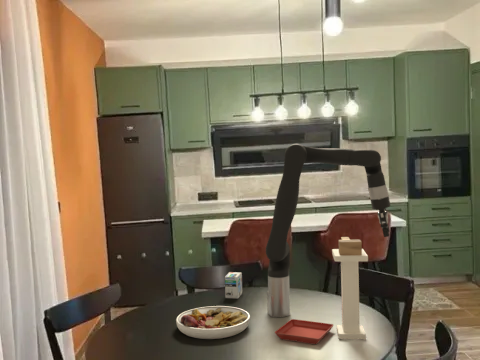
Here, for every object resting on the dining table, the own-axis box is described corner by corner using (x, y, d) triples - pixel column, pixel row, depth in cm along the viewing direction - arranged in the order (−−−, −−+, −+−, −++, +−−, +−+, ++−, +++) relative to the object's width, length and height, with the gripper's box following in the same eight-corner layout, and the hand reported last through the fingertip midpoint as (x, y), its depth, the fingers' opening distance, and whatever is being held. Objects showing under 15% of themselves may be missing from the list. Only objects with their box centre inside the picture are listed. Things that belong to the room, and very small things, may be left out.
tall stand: (333, 328, 208) (332, 249, 206) (364, 328, 206) (362, 248, 205) (336, 341, 194) (334, 256, 192) (369, 341, 192) (367, 255, 191)
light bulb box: (238, 298, 254) (237, 277, 253) (225, 298, 255) (224, 276, 255) (242, 292, 264) (242, 272, 264) (229, 292, 266) (229, 271, 265)
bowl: (216, 312, 234) (215, 295, 233) (265, 327, 212) (264, 308, 212) (161, 330, 213) (161, 311, 212) (210, 348, 191) (209, 327, 191)
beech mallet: (335, 244, 216) (334, 232, 216) (354, 244, 215) (354, 232, 215) (339, 255, 193) (339, 242, 193) (361, 255, 192) (361, 241, 192)
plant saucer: (291, 326, 213) (291, 318, 213) (334, 332, 205) (334, 323, 204) (273, 340, 197) (273, 332, 197) (319, 347, 189) (319, 338, 188)
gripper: (370, 196, 225) (378, 232, 226) (369, 200, 211) (377, 239, 212) (388, 193, 223) (395, 229, 223) (388, 197, 209) (395, 236, 210)
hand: (386, 234), depth 218 cm, fingers open, 8 cm apart
